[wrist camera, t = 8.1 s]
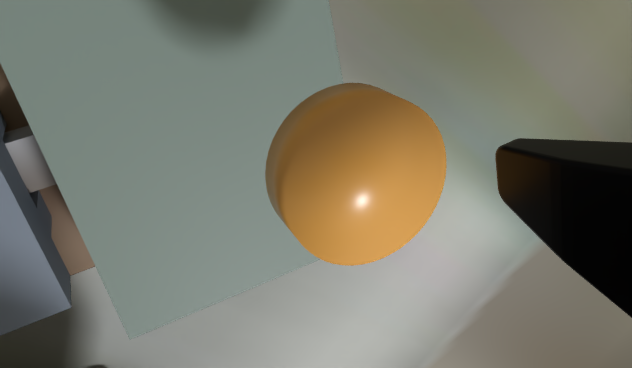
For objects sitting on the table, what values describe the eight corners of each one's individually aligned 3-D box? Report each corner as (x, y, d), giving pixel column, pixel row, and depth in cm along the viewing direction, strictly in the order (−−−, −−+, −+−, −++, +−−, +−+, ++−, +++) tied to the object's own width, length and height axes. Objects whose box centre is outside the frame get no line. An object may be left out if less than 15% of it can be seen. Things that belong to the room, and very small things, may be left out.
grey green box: (312, 183, 23) (370, 237, 18) (114, 257, 20) (129, 339, 16) (248, -101, 18) (308, -115, 14) (-19, -42, 16) (-47, -36, 11)
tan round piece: (397, 187, 14) (452, 228, 12) (268, 239, 14) (306, 291, 11) (377, 52, 13) (438, 73, 11) (230, 99, 12) (265, 132, 10)
